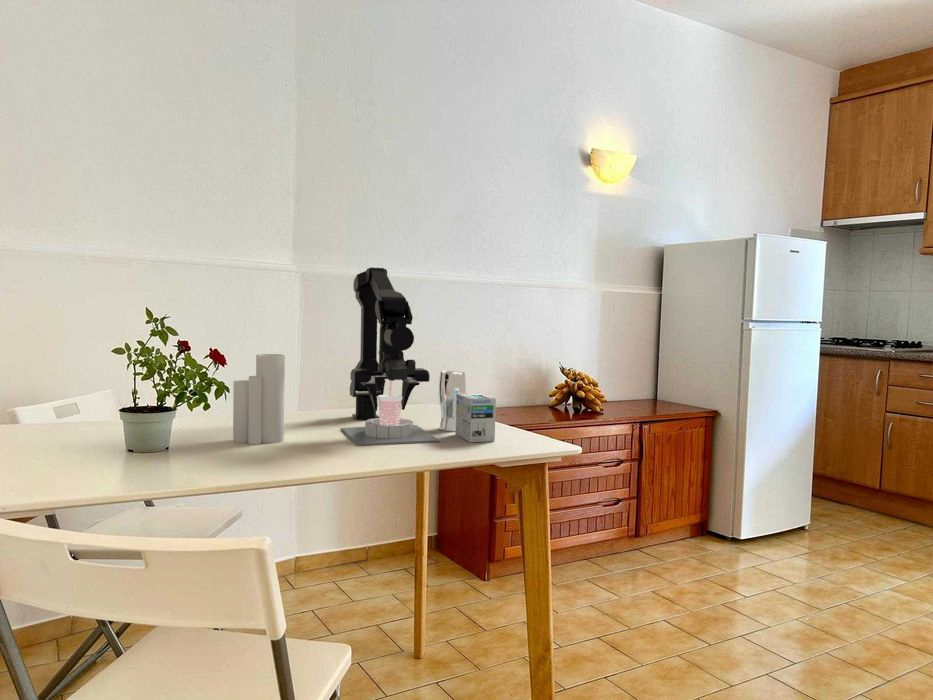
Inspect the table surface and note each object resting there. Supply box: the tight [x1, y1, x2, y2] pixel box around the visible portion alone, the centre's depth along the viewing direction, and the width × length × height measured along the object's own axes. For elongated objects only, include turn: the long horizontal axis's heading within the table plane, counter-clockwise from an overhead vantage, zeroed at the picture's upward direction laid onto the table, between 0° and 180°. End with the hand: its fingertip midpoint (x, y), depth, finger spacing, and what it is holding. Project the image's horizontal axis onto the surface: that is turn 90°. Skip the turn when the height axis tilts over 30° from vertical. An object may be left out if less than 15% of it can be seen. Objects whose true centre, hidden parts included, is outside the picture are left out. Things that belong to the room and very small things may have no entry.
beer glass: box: [438, 370, 466, 432], centre depth 192 cm, size 7×7×15 cm
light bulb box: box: [454, 392, 497, 443], centre depth 182 cm, size 11×7×11 cm, turn 22°
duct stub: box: [340, 417, 441, 447], centre depth 181 cm, size 20×20×4 cm
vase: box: [232, 353, 286, 445], centre depth 170 cm, size 11×7×20 cm, turn 116°
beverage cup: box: [377, 380, 403, 425], centre depth 181 cm, size 6×6×14 cm
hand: (389, 410), depth 181 cm, fingers closed on beverage cup, 6 cm apart
